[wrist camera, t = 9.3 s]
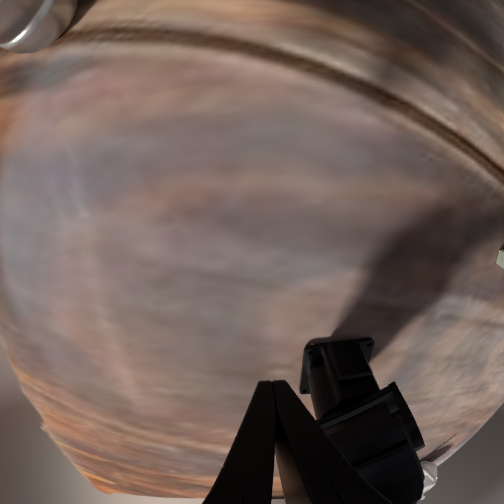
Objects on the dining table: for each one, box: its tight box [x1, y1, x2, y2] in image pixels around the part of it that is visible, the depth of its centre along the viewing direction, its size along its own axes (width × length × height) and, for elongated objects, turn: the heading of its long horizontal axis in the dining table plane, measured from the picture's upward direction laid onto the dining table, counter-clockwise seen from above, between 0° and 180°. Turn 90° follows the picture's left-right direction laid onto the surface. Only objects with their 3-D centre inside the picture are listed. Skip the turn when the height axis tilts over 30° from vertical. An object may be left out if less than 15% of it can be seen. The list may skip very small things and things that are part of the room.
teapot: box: [420, 461, 437, 500], centre depth 39 cm, size 20×12×10 cm, turn 5°
